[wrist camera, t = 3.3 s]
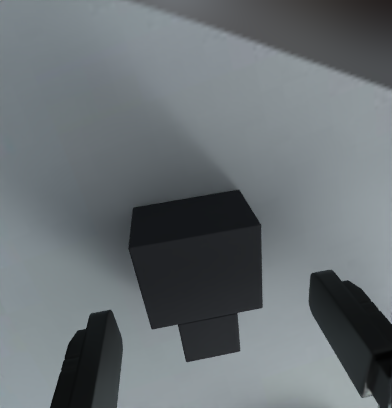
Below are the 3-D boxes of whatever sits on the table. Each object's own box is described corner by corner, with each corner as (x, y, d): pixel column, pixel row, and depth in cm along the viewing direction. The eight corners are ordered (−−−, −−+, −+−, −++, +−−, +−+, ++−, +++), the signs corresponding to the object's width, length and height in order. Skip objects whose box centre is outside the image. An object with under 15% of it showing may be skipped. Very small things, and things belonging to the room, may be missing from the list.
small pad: (160, 315, 19) (162, 367, 16) (132, 207, 15) (128, 247, 12) (245, 299, 19) (263, 346, 16) (239, 189, 15) (261, 224, 12)
